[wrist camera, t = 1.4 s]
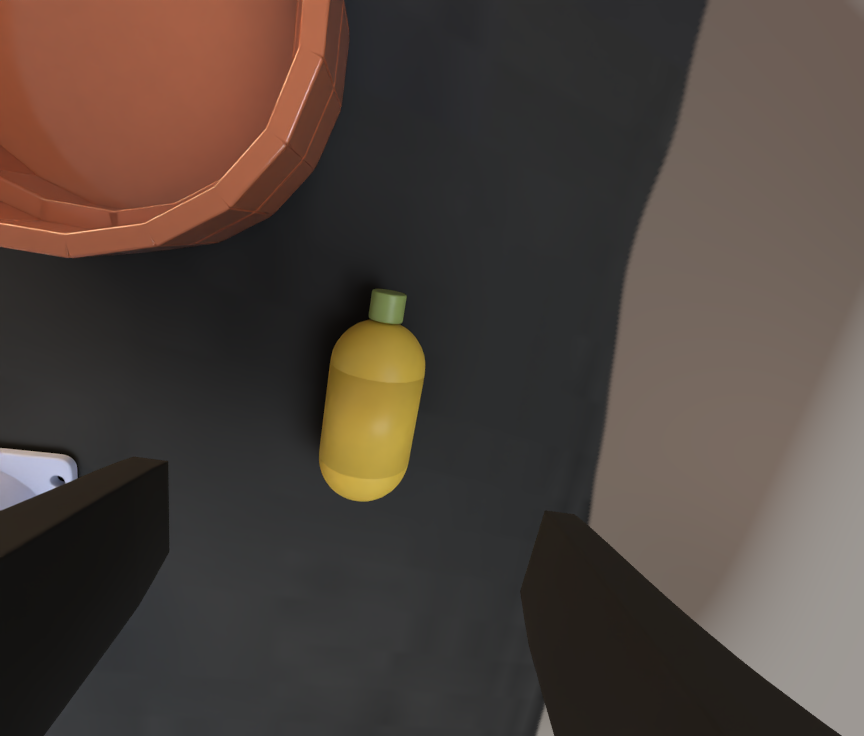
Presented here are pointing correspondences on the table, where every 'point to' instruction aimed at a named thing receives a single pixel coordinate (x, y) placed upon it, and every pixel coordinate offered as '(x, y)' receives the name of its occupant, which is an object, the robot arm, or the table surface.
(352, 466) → the yellow squeeze bottle
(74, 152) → the basin
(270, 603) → the table surface
